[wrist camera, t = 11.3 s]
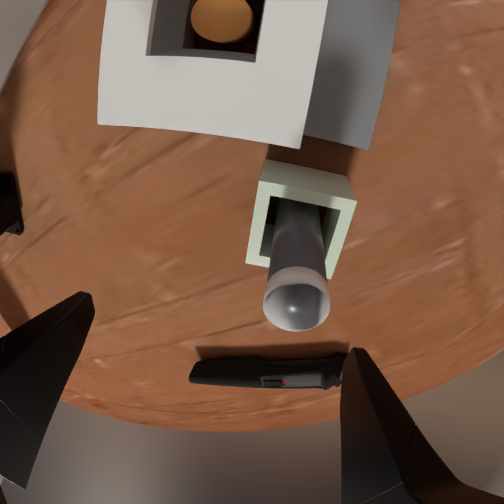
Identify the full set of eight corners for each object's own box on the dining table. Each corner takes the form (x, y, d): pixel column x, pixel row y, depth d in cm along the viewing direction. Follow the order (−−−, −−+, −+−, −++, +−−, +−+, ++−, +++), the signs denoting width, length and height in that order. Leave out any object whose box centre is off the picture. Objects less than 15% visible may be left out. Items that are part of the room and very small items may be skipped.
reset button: (201, 42, 15) (187, 39, 13) (208, -2, 14) (195, -11, 12) (251, 47, 15) (244, 43, 13) (259, 1, 14) (253, -9, 12)
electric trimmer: (191, 346, 31) (182, 371, 28) (348, 347, 28) (350, 374, 25) (200, 368, 33) (193, 392, 30) (345, 370, 30) (346, 396, 27)
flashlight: (274, 217, 21) (258, 325, 13) (281, 181, 20) (269, 276, 12) (312, 224, 21) (319, 335, 13) (321, 189, 20) (338, 288, 12)
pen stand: (253, 230, 22) (245, 263, 19) (265, 159, 19) (259, 180, 16) (326, 244, 22) (330, 279, 19) (346, 176, 19) (357, 201, 16)
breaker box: (143, 107, 18) (97, 124, 14) (166, -57, 12) (127, -85, 7) (361, 142, 18) (384, 169, 13) (395, -29, 11) (427, -56, 7)
